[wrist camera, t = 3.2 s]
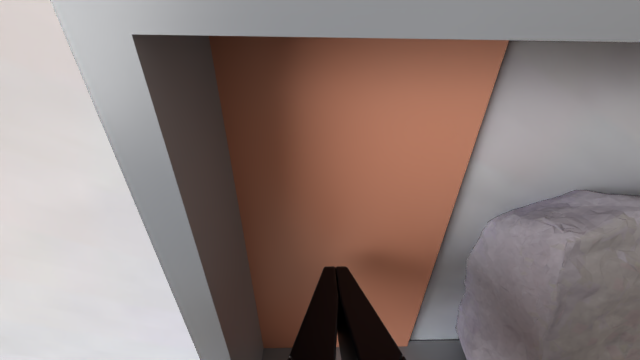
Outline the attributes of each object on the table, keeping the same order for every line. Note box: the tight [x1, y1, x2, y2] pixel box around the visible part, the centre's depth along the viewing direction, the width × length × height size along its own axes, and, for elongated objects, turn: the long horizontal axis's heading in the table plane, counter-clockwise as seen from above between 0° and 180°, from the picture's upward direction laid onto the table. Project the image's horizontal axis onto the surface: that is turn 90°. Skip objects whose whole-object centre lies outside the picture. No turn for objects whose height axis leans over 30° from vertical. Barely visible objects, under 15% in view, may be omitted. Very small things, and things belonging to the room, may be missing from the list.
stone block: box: [456, 190, 640, 360], centre depth 11 cm, size 12×5×10 cm
